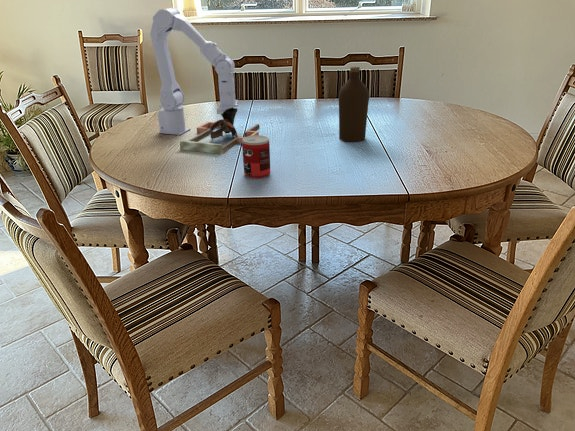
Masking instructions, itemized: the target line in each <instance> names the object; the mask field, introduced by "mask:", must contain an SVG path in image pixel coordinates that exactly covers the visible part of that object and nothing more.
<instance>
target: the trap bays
mask: <svg viewBox="0 0 575 431" xmlns="http://www.w3.org/2000/svg"><path fill="white" fill-rule="evenodd" d="M215 122H216V121H207V122H205V123H202V124H200V125H199V126H197V127H196V133H197V134H201V133H202V132H204V131H206V130H208V129H210V127H211V126H212V125H213V124H214V123H215ZM217 129H218V128H217V127H216V128H214V130H213V131H216V130H217ZM246 132H247V136H253V135H260V131H259V130H256V131H247V130H246ZM247 136H238V137H237V144H242V139H243V138H244V137H247Z"/></svg>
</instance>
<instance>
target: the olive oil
mask: <svg viewBox="0 0 575 431" xmlns="http://www.w3.org/2000/svg"><path fill="white" fill-rule="evenodd" d="M349 68H350V71H349V79H347V81H346V82H344V85H342V86H341V87H340V90H339V92H338V128H339V129H338V135H339V136H338V138H339V140H340V141H343V142H347V143H357V142H362V141H364V140H365V139H366V132H367V124H368V123H367V122H368V114H369V113H368V111H369V103H370V102H369V101H370V92H369V89H368V87H367V86H366V85H365V83H364V82H363V81H362V79H361V78H360V75H361V71H360V68H361V67H360V66H350V67H349Z"/></svg>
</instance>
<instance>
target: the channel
mask: <svg viewBox="0 0 575 431" xmlns="http://www.w3.org/2000/svg"><path fill="white" fill-rule="evenodd" d="M219 128H221V126H220V124H219V125H218V126H217V128H216V129H219ZM258 129H260V124H259V123H256V124H254V125H253V126H251V127H250V128H249V129H247V130H246V131H258ZM209 130H210V129H208V130H206V131H204V132H202V133H198V134H197V135H196V136H194V137H192V138H190V139H188V140H179V141H178V142H179V150H181V151H182V150H184V151H191V152H201V153H209V154H220V155H222V154H223V153H225V152H226V151H228V150H229V149H231V148H232V147H234V146H235V145H237V144H238V143H237V138H236V137H235V138H234V139H232V140H231V141H228V142H227V143H226V144H224V145H223V144H221V143H220V144H219V143H212V142H211V143H210V142H201V141H200V140H202V139H204V138H205V137H207V136H210V132H209ZM246 131H244V132H243V135H244V136H243V137H246V136H247V132H246Z"/></svg>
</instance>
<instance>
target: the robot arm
mask: <svg viewBox="0 0 575 431" xmlns="http://www.w3.org/2000/svg"><path fill="white" fill-rule="evenodd" d="M172 31H177V32H182V33H183V34H184V35H185V36H186V37H188V39H189V40H191V41H192V42H193V43H194V44H195V45H197V47H198V48H199V51H200V55H202V57H204V58H205V59H206V60H207V61H208V62H209V63H210V64H211V65H212V66H213V67H214V70H215V72H216V73H217V79H218V81H217V82H218V92H219V105H218V107H216V114H218V115H221V117H222V119H228V120H229V122H230V123H231V124H232V125H233V126H234V123H235V118H236V114H237V112H238V107H239V105H240V102H239V99H236V89H235V87H236V86H235V77H234V70H235V67H236V65H235V62H234V59H233V58H232V57H230V56H227V54H226V53H224V52H223V51H222V50H221V49H220V48H219V47H218V44H217V43H216V41H215V42H213V41H212V40H211V41H210V40H206V39H205V38H204V36H202V34H201V33H200V32H199V31H198V29H197V28H196V27H194V26H193V24H192V23H191V22H190V21H189V19H187V18H186V16H185V15H184V14H182V13H181V12H180V11H179V9H177V8H175V7H169V8H168V7H167V8H162V9H158V10H157V11H156V13H155V14H154V15H153V16H152V24H151V28H150V34H149V35H150V36H149V37H150V39H151V43H152V48H153V53H154V56H155V57H154V58H155V60H156V64H157V65H156V66H157V69H158V73H159V77H160V81H161V87H160V90H159V93H160V98H159V103H160V106H161V107H162V108H160V109H159V110H158V114H157V120H158V126H159V131H158V133H159V134H166V135H167V134H169V135H179V136H180V135H182V134H184V133H186V132H188V131H190V130H191V128H190V127H186V120H185V119H186V118H185V112H184V106H183V103H184V101H185V94H184V92H183V91H182V89H181V87H180V84H179V83H178V82H177V80H176V75H175V70H174V66H173V61H172V57H171V52H170V48H169V44H168V40H167V39H168V38H167V37H168V36H169V35H170V33H171V32H172Z"/></svg>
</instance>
